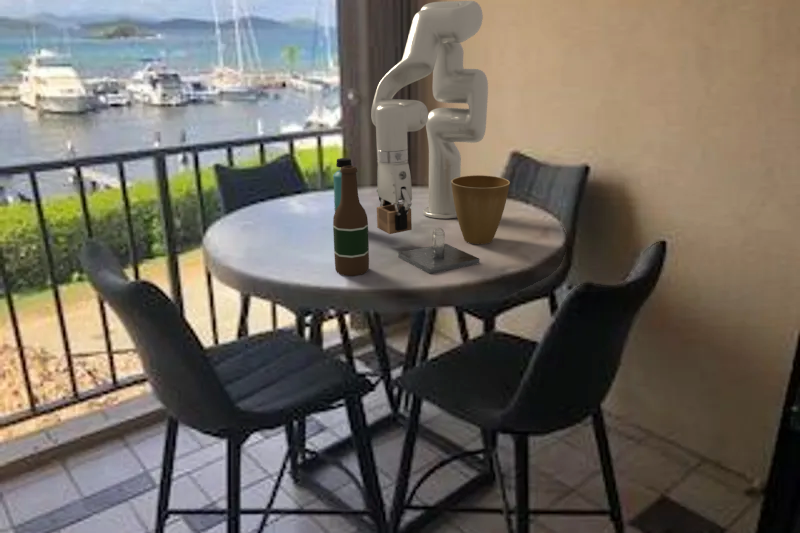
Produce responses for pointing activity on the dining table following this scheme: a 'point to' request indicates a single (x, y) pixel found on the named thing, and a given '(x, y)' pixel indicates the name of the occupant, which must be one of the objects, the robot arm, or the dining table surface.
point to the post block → (438, 255)
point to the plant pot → (479, 205)
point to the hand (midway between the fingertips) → (394, 225)
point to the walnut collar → (390, 219)
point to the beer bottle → (350, 228)
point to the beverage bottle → (339, 180)
